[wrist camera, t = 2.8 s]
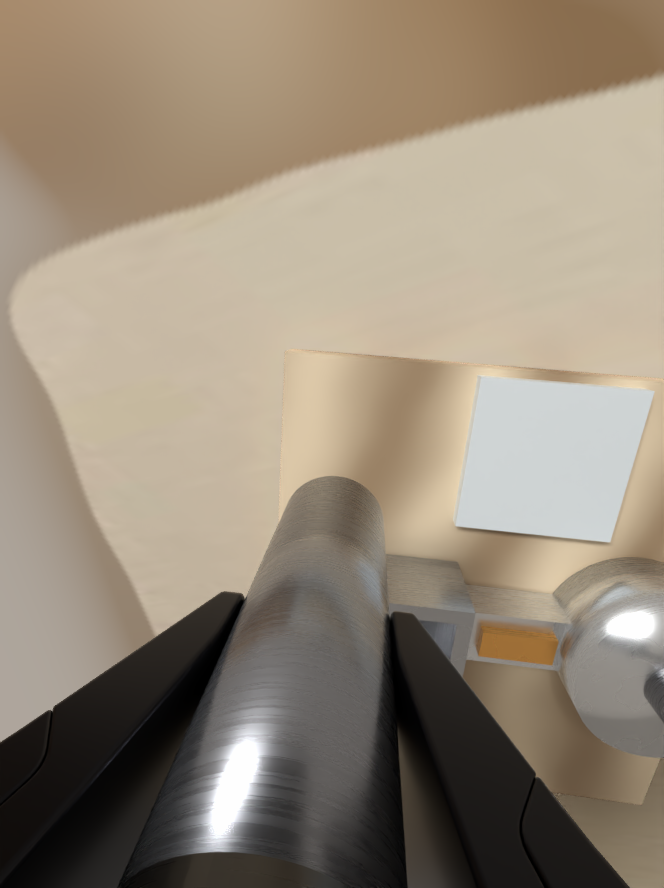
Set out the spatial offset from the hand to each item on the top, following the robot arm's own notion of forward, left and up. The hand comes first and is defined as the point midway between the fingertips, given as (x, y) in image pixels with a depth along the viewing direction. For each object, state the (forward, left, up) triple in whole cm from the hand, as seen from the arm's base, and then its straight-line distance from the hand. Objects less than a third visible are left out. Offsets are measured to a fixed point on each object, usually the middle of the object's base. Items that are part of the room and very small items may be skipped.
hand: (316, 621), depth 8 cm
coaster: (-8, 0, -11) cm, 13 cm away
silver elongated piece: (-9, +7, -11) cm, 15 cm away
